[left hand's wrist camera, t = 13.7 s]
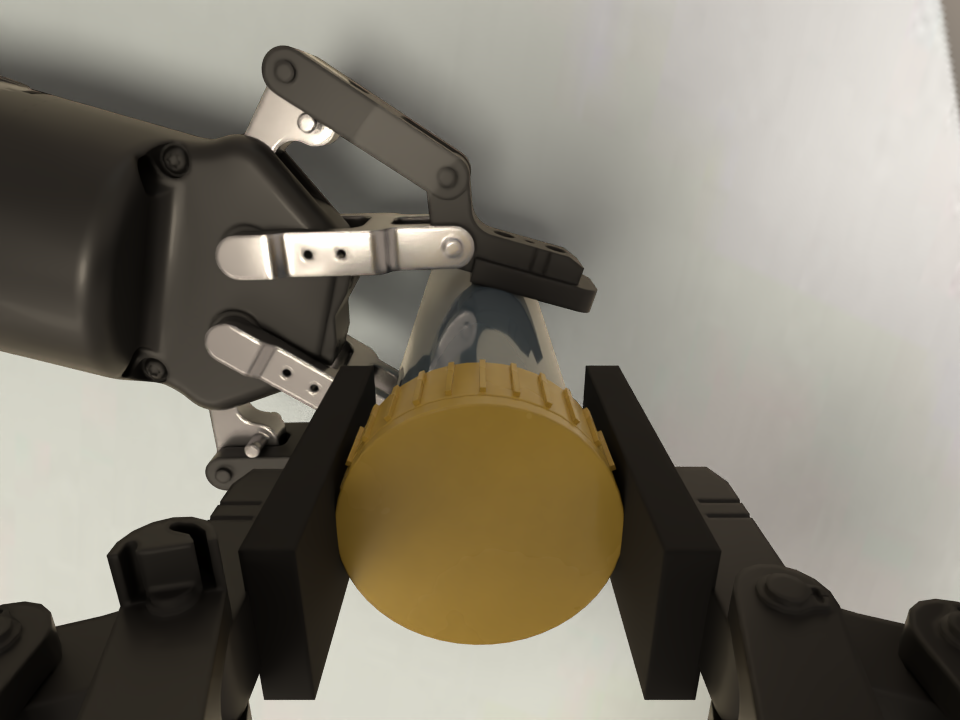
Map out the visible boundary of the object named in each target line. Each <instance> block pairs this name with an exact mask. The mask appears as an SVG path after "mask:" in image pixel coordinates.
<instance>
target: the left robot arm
mask: <svg viewBox="0 0 960 720" xmlns="http://www.w3.org/2000/svg"><path fill="white" fill-rule="evenodd" d="M375 404H376V393H375V378H374V366H341V367H340V369H339V370H338V372H337V374H336V376H335V378H334V379H333V381H332V383H331V385H330V386H329V388H328V390H327V392H326V394H325V395H324V397H323V399H322V401H321V403H320V404H319V406H318V408H317V410H316V412H315V413H314V415H313V417H312V419H311V421H310V422H309V424H308V426H307V428H306V430H305V431H304V433H303V435H302V437H301V438H300V440H299V442H298V444H297V446H296V447H295V449H294V451H293V453H292V455H291V456H290V458H289V460H288V462H287V464H286V465H285V467H284V469H252V470H251V471H250V472H248V473H247V474H245V475H244V476H243V477H241V478H240V479H238V480H237V481H236V482H234V483H233V484H232V485H231V486H230V488H229V489H228V491H227V492H226V494H225V495H224V497H223V498H222V500H221V501H220V505H218V506H217V507H216V509H215V510H214V512H213V513H212V515H211V516H210V520H203V519H199V518H195V517H173V518H169V519H165V520H160V521H156V522H152V523H150V524H148V525H145V526H143V527H141V528H139V529H136V530H134V531H132V532H131V533H129V534H128V535H127V536H125V537H124V538H122V539H121V540H120V541H118V542H117V543H116V544H115V545H114V547H113V548H112V549H111V551H110V552H109V553H108V554H107V559H108V562H109V566H110V570H111V573H112V577H113V581H114V584H115V588H116V591H117V595H118V599H119V602H120V609H119V611H117V612H114V613H111V614H107V615H104V616H100V617H96V618H91V619H87V620H82V621H78V622H74V623H69V624H65V625H60V626H56V627H55V624H54V621H53V618H52V615H51V612H50V611H49V610H48V609H46V608H45V607H44V606H43V605H42V604H38V603H31V602H17V603H10V604H3V605H0V720H252V717H251V710H250V705H249V698H250V696H251V693H252V691H253V688H254V686H255V683H256V681H257V678H258V676H259V673H260V679H261V685H262V690H263V696H264V700H315V698H316V694H317V691H318V687H319V683H320V680H321V676H322V673H323V669H324V666H325V662H326V659H327V655H328V652H329V648H330V645H331V641H332V637H333V634H334V630H335V627H336V623H337V620H338V616H339V613H340V609H341V606H342V602H343V599H344V595H345V591H346V588H347V584H348V581H349V576H348V574H347V571H346V569H345V567H344V565H343V563H342V561H341V557H340V554H339V546H338V537H337V527H336V516H335V510H336V505H337V499H338V496H339V493H340V485H341V483H342V480H343V478H344V475H345V472H346V470H347V467H348V466H347V465H345V463H346V461H347V458H348V456H349V453H350V450H351V448H352V445H353V443H354V440H355V438H356V435H357V433H358V430H359V428H360V426H361V427H364V428H365V426H366V424H367V422H368V419H369V416H370V414H371V411H372V408H373V406H374V405H375ZM586 407H587V408H588V410H589V411H590V413H591V416H592V419H593V421H594V424H595V427H596V430H597V432H598V431H602V433H603V436H604V438H605V441H606V443H607V446H608V449H609V451H610V454H611V456H612V459H613V461H614V464H615V467H616V470H614V471H612V472H613V475H614V477H615V480H616V483H617V485H618V488H619V491H620V495H621V499H622V503H623V507H624V521H623V532H622V542H621V550H620V556H619V559H618V561H617V564H616V566H615V569H614V571H613V572H612V574H611V576H610V579H611V583H612V586H613V590H614V593H615V597H616V600H617V604H618V607H619V611H620V614H621V618H622V622H623V625H624V629H625V632H626V636H627V639H628V643H629V646H630V650H631V653H632V657H633V660H634V664H635V668H636V671H637V675H638V678H639V682H640V685H641V689H642V692H643V696H644V699H645V700H695V699H696V693H697V687H698V682H699V676H700V672H701V674H702V677H703V679H704V682H705V684H706V687H707V689H708V692H709V694H710V697H711V699H712V700H711V705H710V710H709V716H708V720H960V602H956V601H948V600H941V599H931V600H925V601H919V602H918V603H916V604H915V605H914V606H913V607H912V608H911V609H910V610H909V613H908V616H907V619H906V622H905V624H902V623H898V622H893V621H889V620H884V619H880V618H876V617H871V616H867V615H862V614H858V613H855V612H851V611H848V610H844V609H841V608H840V605H839V604H838V602H837V601H836V599H835V598H834V596H833V595H832V593H831V592H830V591H829V590H828V589H826V588H825V587H824V586H823V585H821V584H820V583H819V582H818V581H817V580H815V579H814V578H812V577H810V576H808V575H806V574H803V573H801V572H799V571H797V570H795V569H791V568H787V567H785V566H784V564H783V563H782V561H781V560H780V558H779V557H778V555H777V554H776V552H775V551H774V549H773V548H772V546H771V545H770V544H769V542H768V541H767V539H766V538H765V536H764V535H763V533H762V532H761V530H760V529H759V527H758V526H757V524H756V523H755V521H754V520H753V519H752V518H750V516H749V513H748V511H747V510H746V508H745V507H744V505H743V504H742V503H740V499H739V498H738V496H737V495H736V494H735V492H734V491H733V489H732V488H731V486H730V485H729V483H728V482H727V481H726V480H724V479H723V478H721V477H720V476H719V475H717V474H716V473H714V472H713V471H712V470H710V469H709V468H707V467H675V466H674V465H673V463H672V461H671V459H670V457H669V456H668V454H667V452H666V450H665V448H664V447H663V445H662V443H661V441H660V439H659V438H658V436H657V434H656V432H655V430H654V429H653V427H652V425H651V423H650V422H649V420H648V418H647V416H646V414H645V413H644V411H643V409H642V407H641V405H640V404H639V402H638V400H637V398H636V396H635V395H634V393H633V391H632V389H631V387H630V386H629V384H628V382H627V380H626V378H625V377H624V375H623V373H622V371H621V369H620V368H619V366H586V371H585V385H584V400H583V409H585V408H586Z"/></svg>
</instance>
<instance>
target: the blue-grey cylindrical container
mask: <svg viewBox="0 0 960 720" xmlns="http://www.w3.org/2000/svg"><path fill="white" fill-rule="evenodd" d="M480 359H484V360H485V362H487V363H497V364H505V365H509V366H510V364H511V363H514V364H516V365H517V367H518V368H522V369H524V370H527V371H530V372H533V373H535V374H538V375H539V374H540V372H541V373H543V374H545V376H546V379H547V380H549V381H551V382H553V383H554V384H556V385H557V386H559V387H560V388H562V389H563V390H564V389H565V388H566V387H565V384H564V381H563V378H562V374H561V371H560V368H559V365H558V362H557V359H556V356H555V353H554V349H553V346H552V343H551V340H550V337H549V334H548V331H547V327H546V324H545V321H544V318H543V315H542V312H541V309H540V306H539V302H538V301H537V300H534V299H530V298H526V297H523V296H519V295H516V294H512V293H508V292H505V291H503V290H499V289H494V288H490V287H486V286H483V285H479V284H475V283H472V282H470V272H467V271H463V270H460V269H432V270H431V273H430V276H429V279H428V282H427V285H426V288H425V291H424V294H423V297H422V300H421V304H420V307H419V310H418V313H417V316H416V319H415V322H414V326H413V329H412V332H411V335H410V338H409V341H408V344H407V348H406V351H405V354H404V357H403V360H402V363H401V366H400V369H399V373H398V376H397V379H396V382H395V385H394V387H395V386H396V385H398V386H399V387H401V386H402V385H403V384H405V383H407V382H409V381H410V380H412V379H414V378H416V377H417V376H418V375H419V372H421V371H423V370H424V371H425V373H427V372H429V371H432V370H435V369H438V368H442V367H446V366H448V363H449V362H454V364H455V365H456V364H462V363H478V362H480Z"/></svg>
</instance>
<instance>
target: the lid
mask: <svg viewBox="0 0 960 720" xmlns="http://www.w3.org/2000/svg"><path fill="white" fill-rule="evenodd" d="M345 465H347V466H348V467H347V470H346V472H345V475H344V478H343V480H342V483H341V485H340V493H339V496H338V499H337V505H336V510H335V516H336V527H337V537H338V546H339V554H340V557H341V561H342V563H343V565H344V567H345V569H346V571H347V574H348V576H349V577H350V579H351V580H352V582H353V583H354V585H355V586H356V588H357V589H358V590H359V591H360V593H361V594H362V595H363V596H364V597H365V598H366V599H367V601H368V602H370V603H371V604H372V605H373V606H374V607H375V608H376V609H377V610H379V611H380V612H381V613H382V614H384V615H385V616H387V617H388V618H390V619H391V620H392V621H394V622H396V623H398V624H400V625H401V626H403V627H405V628H407V629H409V630H412V631H414V632H416V633H419V634H421V635H424V636H427V637H431V638H434V639H438V640H442V641H447V642H453V643H459V644H472V645H485V644H499V643H507V642H513V641H517V640H522V639H526V638H529V637H532V636H535V635H538V634H541V633H543V632H546V631H548V630H550V629H552V628H554V627H556V626H558V625H560V624H562V623H563V622H565V621H567V620H568V619H570V618H572V617H573V616H574V615H576V614H577V613H578V612H579V611H581V610H582V609H583V608H585V607H586V606H587V605H588V604H589V603H590V602H591V601H592V600H593V599H594V598H595V597H596V596H597V595H598V593H599V592H600V591H601V589H602V588H603V587H604V585H605V584H606V583H607V581H608V579H609V578H610V576H611V574H612V572H613V571H614V569H615V566H616V564H617V561H618V559H619V556H620V550H621V542H622V532H623V521H624V507H623V503H622V499H621V495H620V491H619V488H618V485H617V483H616V480H615V477H614V475H613V472H612V471H614V470H616V467H615V464H614V461H613V459H612V456H611V454H610V451H609V449H608V446H607V443H606V441H605V438H604V436H603V433H602V431H598V432H597V430H596V427H595V424H594V421H593V419H592V416H591V413H590V411H589V410H588V408H587V407H586V408H585V409H583V408H582V407H581V406H580V405H579V404H578V402H577V401H576V400H574V399H573V398H572V395H571V392H570V390H569V389H567V388H565V389H564V390H563V389H562V388H560V387H559V386H557V385H556V384H554V383H553V382H551V381H549V380H547V379H546V376H545V374H543V373H541V372H540V374H539V375H538V374H535V373H533V372H530V371H527V370H524V369H522V368H518V367H517V365H516V364H514V363H511V364H510V366H509V365H505V364H497V363H487V362H485V360H484V359H480V362H478V363H462V364H456V365H455V364H454V362H449V363H448V366H446V367H442V368H438V369H435V370H432V371H429V372H427V373H425V371H424V370H423V371H421V372H419V375H418V376H417V377H416V378H414V379H412V380H410V381H409V382H407V383H405V384H403V385H402V386H401V387H399V386H398V385H396V386H395V387H393V390H392V393H391V394H390V395H389V396H388V397H387V398H386V399H385V400H384V401H383V402H382V403H381V404H380V405H377V404H375V405H374V406H373V408H372V411H371V414H370V416H369V419H368V422H367V424H366V426H365V428H364V427H361V426H360V428H359V430H358V433H357V435H356V438H355V440H354V443H353V445H352V448H351V450H350V453H349V456H348V458H347V461H346V463H345Z"/></svg>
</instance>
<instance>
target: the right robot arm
mask: <svg viewBox="0 0 960 720" xmlns="http://www.w3.org/2000/svg"><path fill="white" fill-rule="evenodd" d="M262 75H263V79H264V81H265V83H266V85H267V87H266V89H265V91H264V93H263V96H262V98H261V100H260V102H259V104H258V106H257V108H256V111H255V113H254V115H253V117H252V119H251V121H250V124H249V126H248V128H247V130H246V132H245V134H233V135H227V136H224V137H220V138H217V139H208V138H202V137H198V136H194V135H190V134H187V133H183V132H180V131H176V130H173V129H169V128H166V127H162V126H159V125H155V124H152V123H148V122H145V121H141V120H138V119H134V118H131V117H127V116H124V115H120V114H117V113H113V112H110V111H106V110H103V109H99V108H96V107H92V106H89V105H85V104H82V103H79V102H75V101H71V100H68V99H64V98H61V97H57V96H54V95H51V94H47V93H44V92H40V91H37V90H33V89H30V87H29V86H27V85H24V84H22V83H20V82H17V81H14V80H12V79H9V78H6V77H3V76H0V351H3V352H7V353H11V354H15V355H19V356H23V357H28V358H32V359H36V360H40V361H44V362H48V363H52V364H56V365H60V366H64V367H68V368H72V369H76V370H80V371H85V372H89V373H93V374H97V375H101V376H105V377H109V378H114V379H121V380H134V381H148V382H157V383H162V384H165V385H167V386H169V387H172V388H173V389H175V390H177V391H179V392H180V393H182V394H183V395H185V396H186V397H187V398H188V399H189V400H191V401H192V402H193V403H195V404H197V405H198V406H200V407H203V408H206V409H209V412H210V417H211V422H212V427H213V432H214V437H215V442H216V447H217V453H216V455H215V456H214V457H213V458H212V460H211V461H210V462H209V463H208V465H207V467H206V470H205V473H206V477H207V479H208V481H209V482H210V483H211V484H212V485H213V486H214V487H216V488H218V489H221V490H228V489H229V488H230V486H231V485H232V484H233V483H234V482H236V481H237V480H238V479H240V478H241V477H243V476H244V475H245V474H247V473H248V472H250V471H251V470H252V469H284V467H285V465H286V464H287V462H288V460H289V458H290V456H291V455H292V453H293V451H294V449H295V447H296V446H297V444H298V442H299V440H300V438H301V437H302V435H303V433H304V431H305V430H306V428H307V426H308V424H309V422H296V423H284V421H283V420H282V417H281V415H280V414H279V413H277V412H264V411H260V410H258V409H256V408H255V407H253V406H252V405H251V404H250V402H253V401H255V400H258V399H261V398H264V397H267V396H270V395H273V394H275V393H278V392H281V391H282V392H284V393H286V394H288V395H290V396H292V397H293V398H295V399H297V400H299V401H301V402H302V403H304V404H306V405H308V406H310V407H312V408H313V409H315V410H317V408H318V406H319V404H320V403H321V401H322V399H323V397H324V395H325V394H326V392H327V390H328V388H329V386H330V385H331V383H332V381H333V379H334V378H335V376H336V374H337V372H338V370H339V369H340V367H341V366H374V378H375V393H376V404H377V405H380V404H381V403H382V402H383V401H384V400H385V399H386V398H387V397H388V396H389V395H390V394H391V393H392V390H393V387H394V385H395V382H396V379H397V376H398V373H399V371H398V370H396V369H395V368H393V367H391V366H390V365H388V364H386V363H384V362H383V361H381V360H380V359H379V358H378V357H377V355H376V353H375V352H374V351H373V350H372V349H371V348H369V347H368V346H366V345H365V344H363V343H361V342H359V341H358V340H356V339H354V338H353V337H351V336H349V335H347V333H348V328H349V324H350V319H349V304H348V299H349V296H350V294H351V292H352V290H353V288H354V286H355V285H356V283H357V281H358V279H359V277H360V275H379V274H385V273H389V272H391V271H397V270H431V269H460V270H463V271H467V272H470V282H472V283H475V284H479V285H483V286H486V287H490V288H494V289H499V290H503V291H505V292H508V293H512V294H516V295H519V296H523V297H526V298H530V299H534V300H537V301H541V302H545V303H548V304H552V305H556V306H559V307H563V308H567V309H570V310H574V311H578V312H583V313H588V312H590V309H591V306H592V303H593V301H594V298H595V295H596V292H597V288H596V287H595V285H594V284H593V283H592V281H591V280H590V278H588V277H586V276H584V275H582V273H583V270H584V268H583V266H582V265H581V263H580V262H579V261H578V259H577V258H576V257H575V256H573V255H572V254H571V253H570V252H568V251H567V250H566V249H565V248H563V247H559V246H556V245H552V244H549V243H545V242H542V241H538V240H534V239H531V238H528V237H524V236H521V235H517V234H514V233H510V232H507V231H503V230H499V229H496V228H492V227H489V226H487V225H485V224H484V223H482V222H481V221H480V220H479V219H478V217H477V216H476V214H475V212H474V209H473V205H472V194H471V181H470V175H471V166H470V163H469V160H468V159H467V157H466V156H465V155H464V154H463V153H461V152H460V151H458V150H457V149H455V148H454V147H452V146H451V145H449V144H448V143H446V142H445V141H443V140H442V139H440V138H439V137H437V136H436V135H434V134H433V133H431V132H430V131H428V130H427V129H425V128H424V127H422V126H421V125H419V124H418V123H416V122H415V121H413V120H412V119H410V118H409V117H407V116H406V115H404V114H403V113H401V112H400V111H398V110H397V109H395V108H394V107H392V106H391V105H389V104H388V103H386V102H385V101H383V100H382V99H380V98H379V97H377V96H375V95H374V94H372V93H371V92H369V91H368V90H366V89H365V88H363V87H362V86H360V85H359V84H357V83H356V82H354V81H353V80H351V79H350V78H348V77H347V76H345V75H344V74H342V73H341V72H339V71H338V70H336V69H335V68H333V67H332V66H330V65H329V64H327V63H326V62H324V61H323V60H321V59H320V58H318V57H316V56H313V55H311V54H309V53H306V52H304V51H301V50H298V49H295V48H292V47H289V46H277V47H274V48H272V49H271V50H270V51H269V52H268V53H267V54H266V55H265V57H264V59H263V63H262ZM339 136H341V137H343V138H345V139H346V140H348V141H349V142H351V143H352V144H354V145H355V146H357V147H359V148H360V149H362V150H363V151H365V152H366V153H368V154H369V155H371V156H373V157H374V158H376V159H377V160H379V161H380V162H382V163H384V164H385V165H387V166H388V167H390V168H391V169H393V170H394V171H396V172H398V173H399V174H401V175H402V176H404V177H405V178H407V179H408V180H410V181H412V182H413V183H415V184H416V185H418V186H419V187H421V188H422V189H424V190H426V191H427V199H428V208H429V214H398V213H356V214H339V213H338V212H337V211H336V209H335V208H334V207H333V206H332V205H331V204H330V202H329V201H328V200H327V199H326V198H325V197H324V195H323V194H322V193H321V192H320V191H319V190H318V189H317V187H316V186H315V185H314V184H313V183H312V182H311V180H310V179H309V178H308V177H307V176H306V175H305V173H304V172H303V171H302V170H301V169H300V168H299V166H298V165H297V164H296V163H295V162H294V161H293V159H292V158H291V157H290V156H289V155H288V154H287V153H286V151H285V149H286V148H287V146H288V145H289V144H291V143H292V142H294V141H299V142H302V143H305V144H307V145H310V146H323V145H328V144H331V143H333V142H334V141H336V140H337V139H338V138H339Z"/></svg>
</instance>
